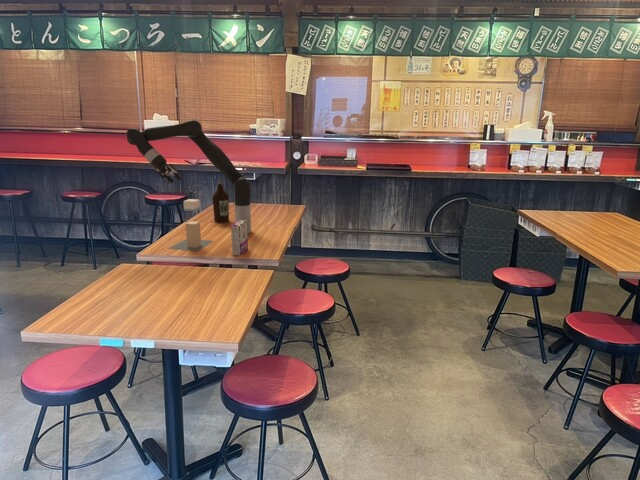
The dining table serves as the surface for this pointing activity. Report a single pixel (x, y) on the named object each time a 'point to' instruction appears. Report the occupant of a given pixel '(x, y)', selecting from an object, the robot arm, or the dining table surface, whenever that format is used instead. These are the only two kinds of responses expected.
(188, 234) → the kraft carton
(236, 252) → the candy bar box
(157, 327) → the dining table surface
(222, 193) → the olive oil
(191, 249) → the packing mat
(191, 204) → the carton lid
